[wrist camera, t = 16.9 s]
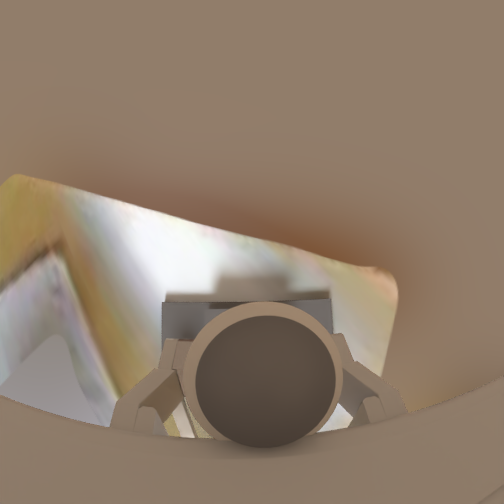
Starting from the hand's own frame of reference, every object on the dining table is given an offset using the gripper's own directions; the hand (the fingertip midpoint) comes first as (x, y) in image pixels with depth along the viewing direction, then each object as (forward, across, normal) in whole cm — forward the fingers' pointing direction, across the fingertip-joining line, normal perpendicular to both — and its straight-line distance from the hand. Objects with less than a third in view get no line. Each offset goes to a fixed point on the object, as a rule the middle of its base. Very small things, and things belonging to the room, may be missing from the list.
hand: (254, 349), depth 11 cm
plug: (+4, 0, +5) cm, 6 cm away
